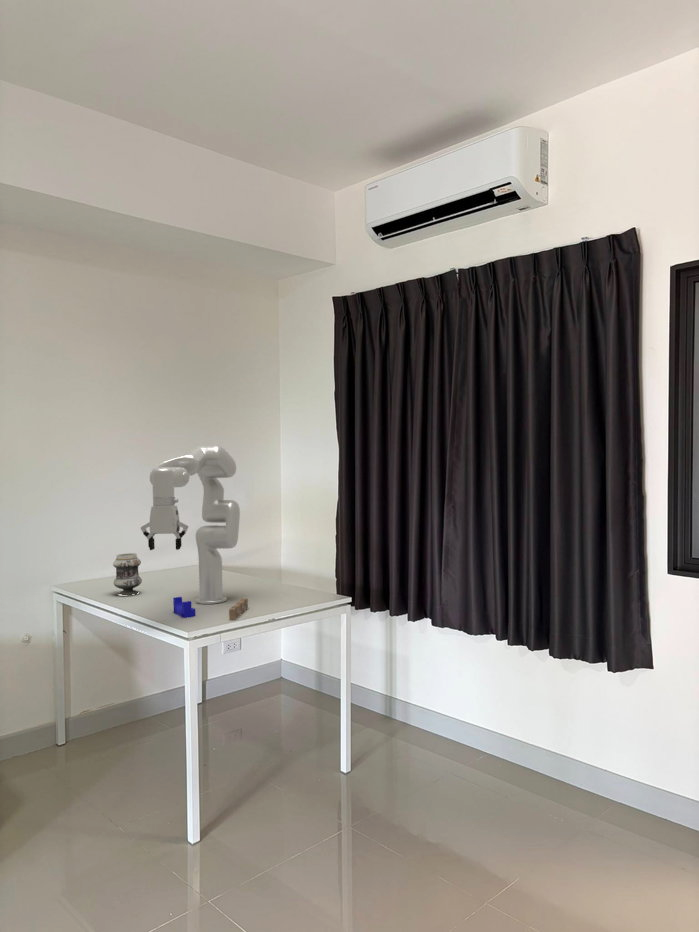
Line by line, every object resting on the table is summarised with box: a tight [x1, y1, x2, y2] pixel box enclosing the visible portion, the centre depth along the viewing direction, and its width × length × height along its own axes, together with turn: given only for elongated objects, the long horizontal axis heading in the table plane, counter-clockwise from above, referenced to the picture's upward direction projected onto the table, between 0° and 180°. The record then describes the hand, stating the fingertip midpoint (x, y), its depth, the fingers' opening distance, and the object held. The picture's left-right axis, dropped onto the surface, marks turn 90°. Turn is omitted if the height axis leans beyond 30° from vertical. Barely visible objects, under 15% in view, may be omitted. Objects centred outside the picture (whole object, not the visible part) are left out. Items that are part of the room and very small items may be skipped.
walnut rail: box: [228, 597, 249, 621], centre depth 266 cm, size 20×2×4 cm, turn 174°
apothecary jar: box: [112, 552, 143, 595], centre depth 311 cm, size 12×12×18 cm
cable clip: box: [172, 596, 196, 619], centre depth 268 cm, size 12×4×6 cm, turn 32°
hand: (165, 549), depth 253 cm, fingers open, 9 cm apart
